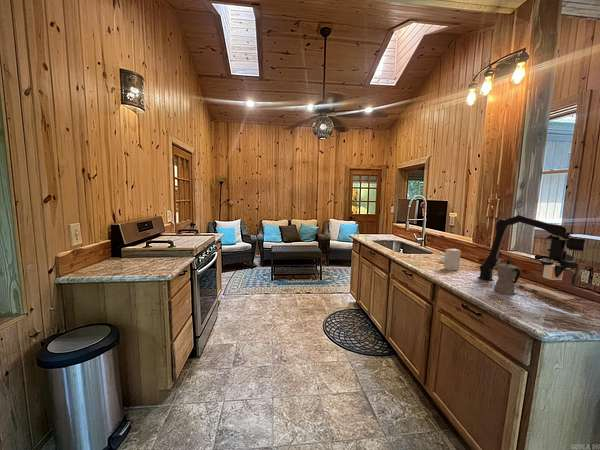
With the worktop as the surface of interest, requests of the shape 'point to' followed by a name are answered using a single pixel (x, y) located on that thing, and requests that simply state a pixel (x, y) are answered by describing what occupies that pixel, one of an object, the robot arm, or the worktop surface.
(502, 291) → the coffeepot
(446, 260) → the skincare box
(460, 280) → the worktop surface
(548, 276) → the carton
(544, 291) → the shelf board
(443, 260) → the napkin holder
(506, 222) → the robot arm
